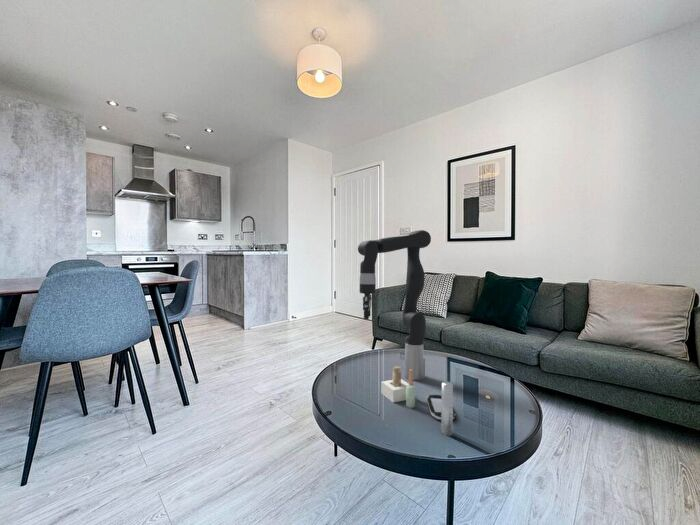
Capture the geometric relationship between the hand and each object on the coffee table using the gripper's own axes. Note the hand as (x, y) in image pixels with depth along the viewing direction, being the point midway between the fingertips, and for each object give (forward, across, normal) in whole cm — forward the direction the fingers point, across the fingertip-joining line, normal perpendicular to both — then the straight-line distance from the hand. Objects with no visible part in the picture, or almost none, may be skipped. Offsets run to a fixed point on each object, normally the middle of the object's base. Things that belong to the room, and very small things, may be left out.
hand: (367, 317), depth 136 cm
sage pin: (+32, -16, -19) cm, 41 cm away
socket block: (+32, -7, -14) cm, 36 cm away
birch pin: (+32, -7, -14) cm, 36 cm away
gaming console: (+33, -17, -31) cm, 48 cm away
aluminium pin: (+32, -34, -30) cm, 55 cm away
